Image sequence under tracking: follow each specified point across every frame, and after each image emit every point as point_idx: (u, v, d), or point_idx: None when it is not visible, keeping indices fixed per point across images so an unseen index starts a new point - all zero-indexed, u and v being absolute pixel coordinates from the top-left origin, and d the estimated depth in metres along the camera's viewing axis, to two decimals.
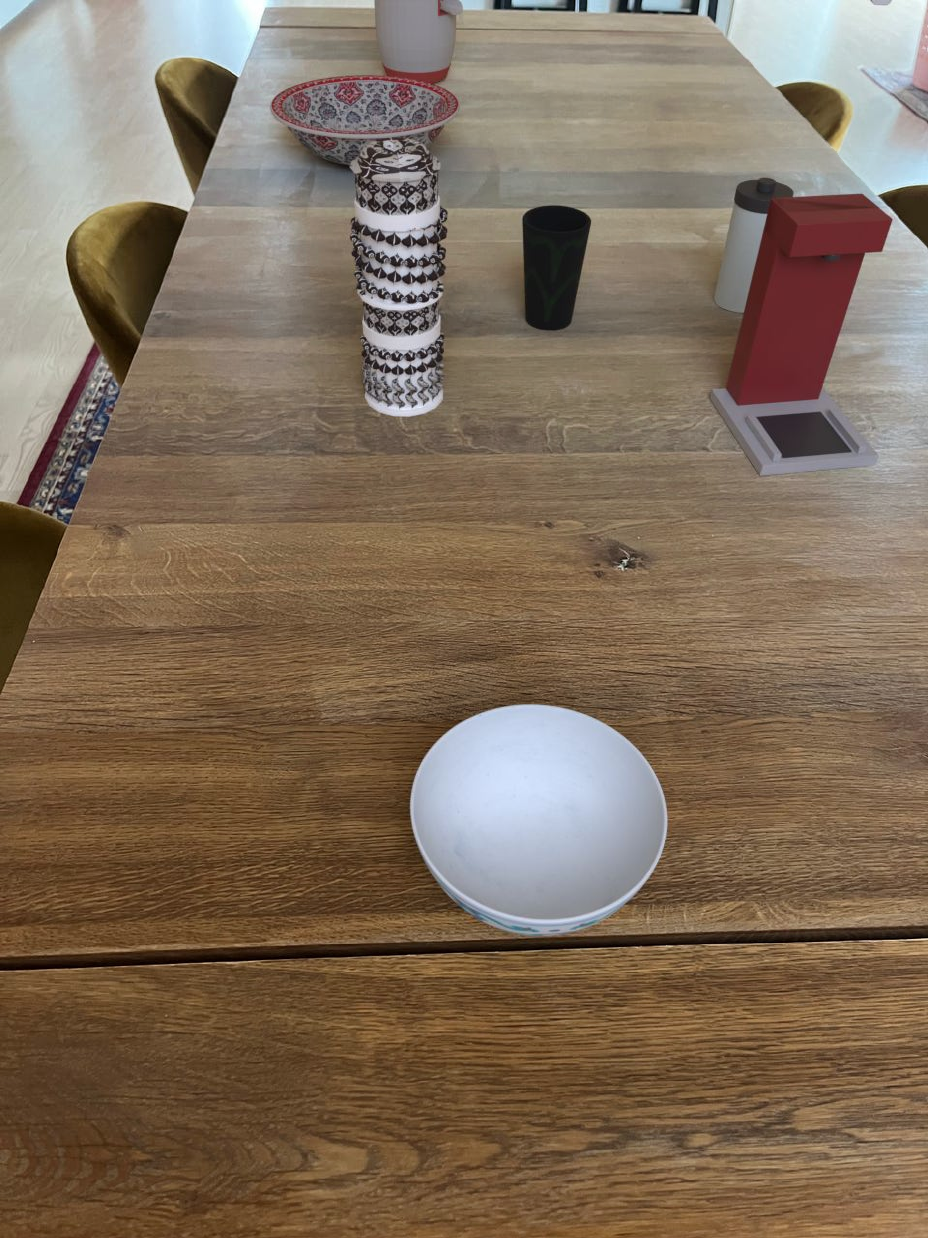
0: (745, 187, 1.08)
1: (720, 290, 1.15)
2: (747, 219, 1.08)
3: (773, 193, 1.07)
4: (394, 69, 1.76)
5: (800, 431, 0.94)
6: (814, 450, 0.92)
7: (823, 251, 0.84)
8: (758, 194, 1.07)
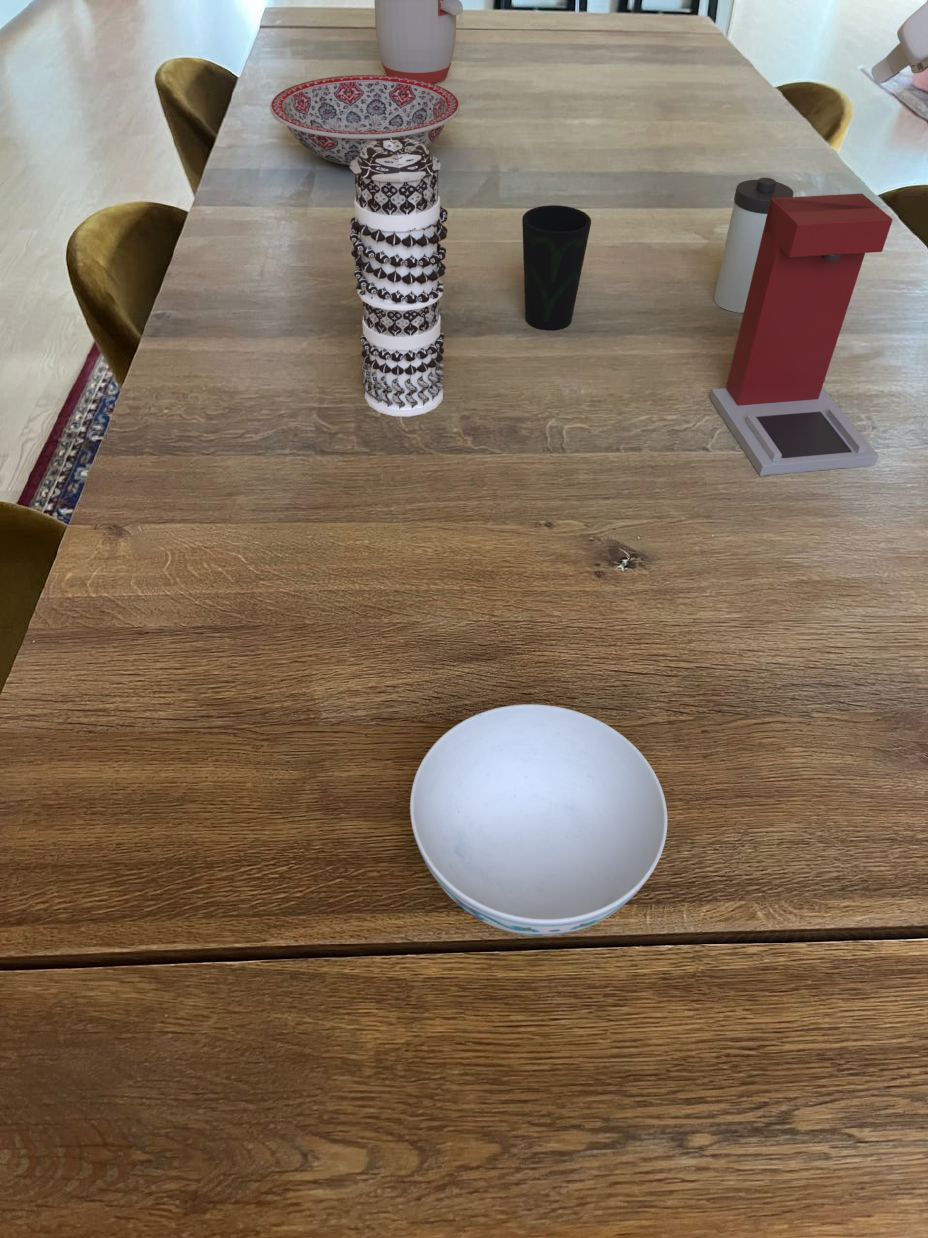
0: (745, 187, 1.08)
1: (720, 290, 1.15)
2: (747, 219, 1.08)
3: (773, 193, 1.07)
4: (394, 69, 1.76)
5: (800, 431, 0.94)
6: (814, 450, 0.92)
7: (823, 251, 0.84)
8: (758, 194, 1.07)
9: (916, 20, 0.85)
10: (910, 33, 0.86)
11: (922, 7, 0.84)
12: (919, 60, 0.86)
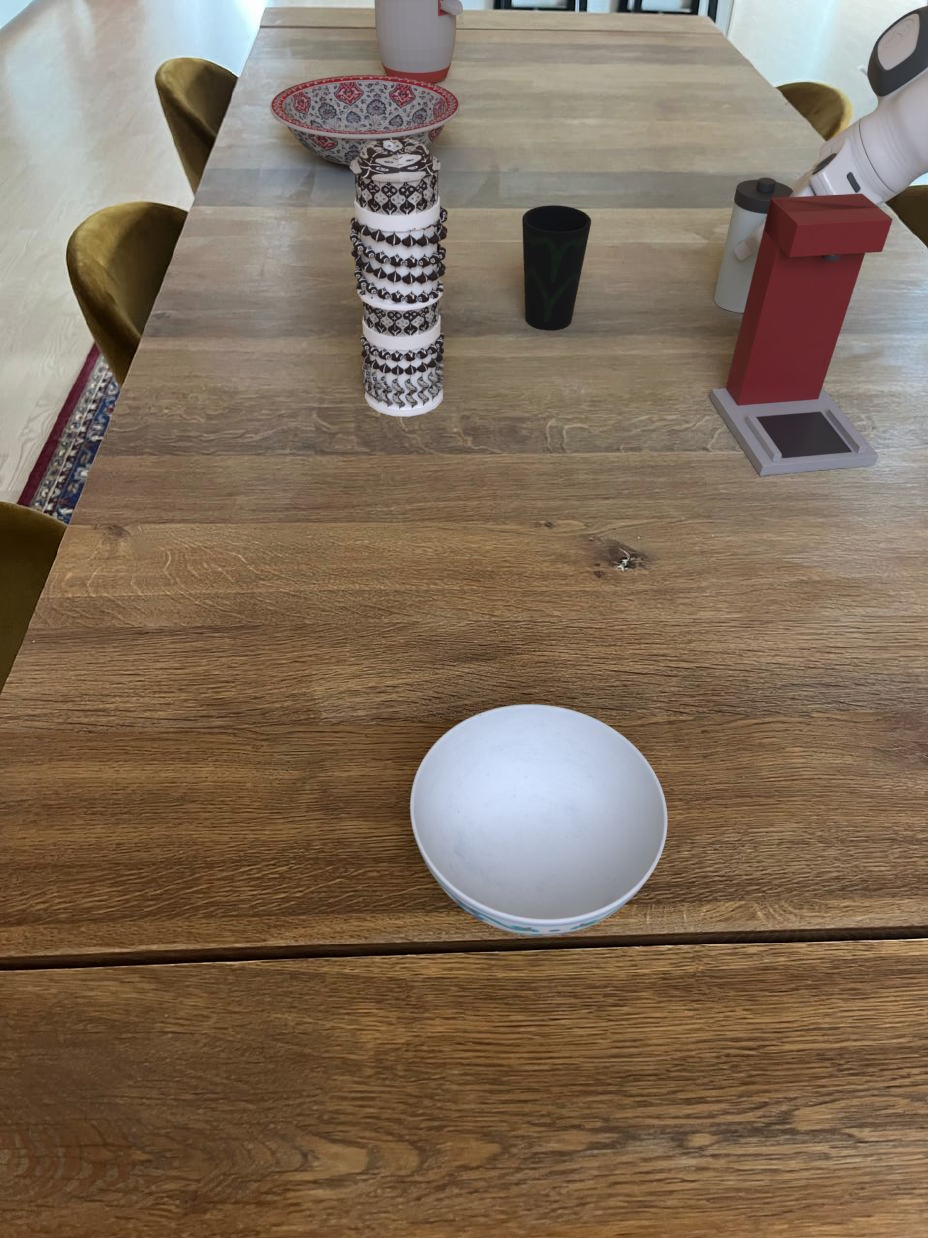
0: (745, 187, 1.08)
1: (720, 290, 1.15)
2: (747, 219, 1.08)
3: (773, 193, 1.07)
4: (394, 69, 1.76)
5: (800, 431, 0.94)
6: (814, 450, 0.92)
7: (823, 251, 0.84)
8: (758, 194, 1.07)
9: None
10: None
11: None
12: None
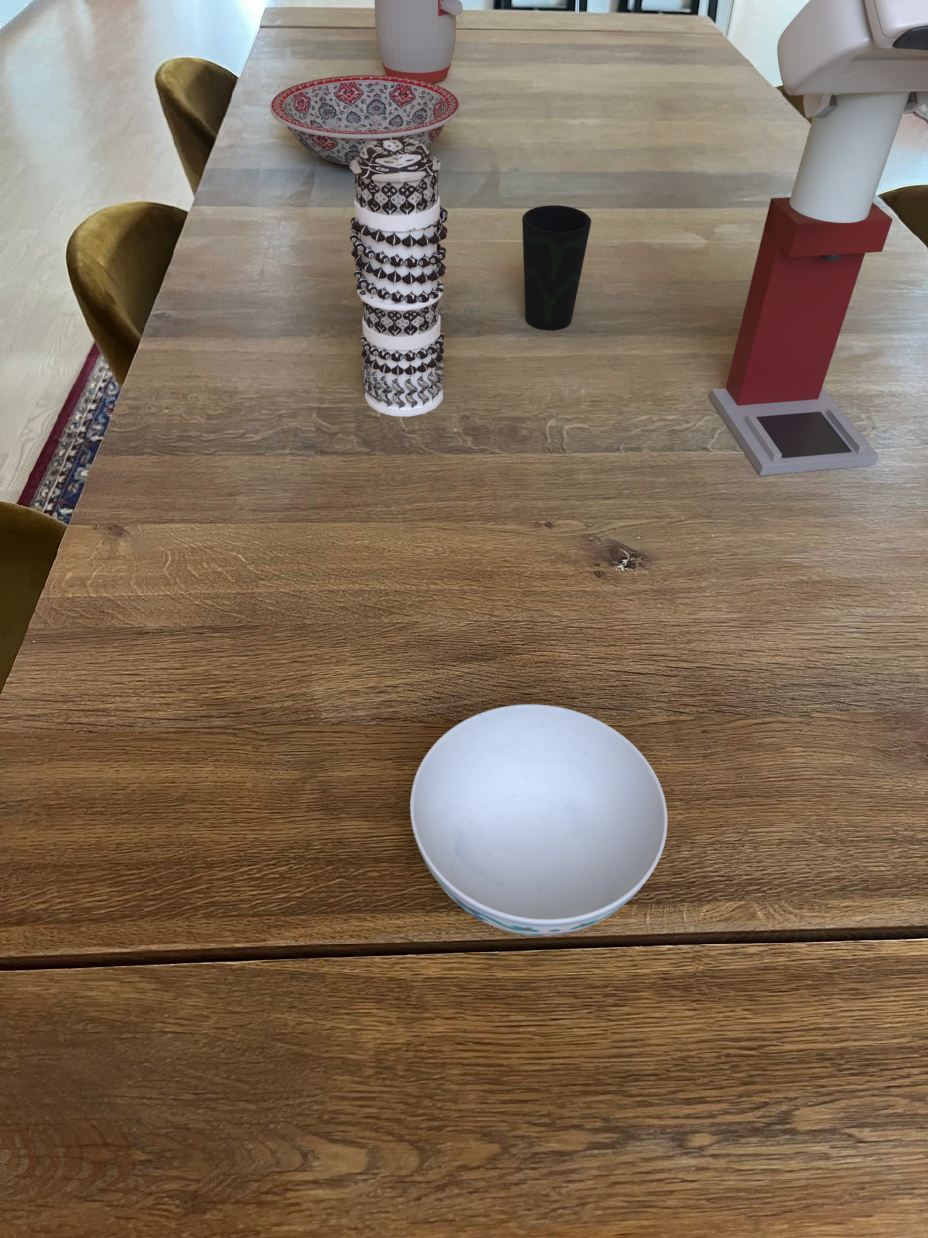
0: None
1: (796, 176, 0.75)
2: None
3: None
4: (394, 69, 1.76)
5: (800, 431, 0.94)
6: (814, 450, 0.92)
7: (823, 251, 0.84)
8: None
9: (788, 34, 0.62)
10: (782, 52, 0.63)
11: (795, 17, 0.61)
12: (790, 90, 0.63)
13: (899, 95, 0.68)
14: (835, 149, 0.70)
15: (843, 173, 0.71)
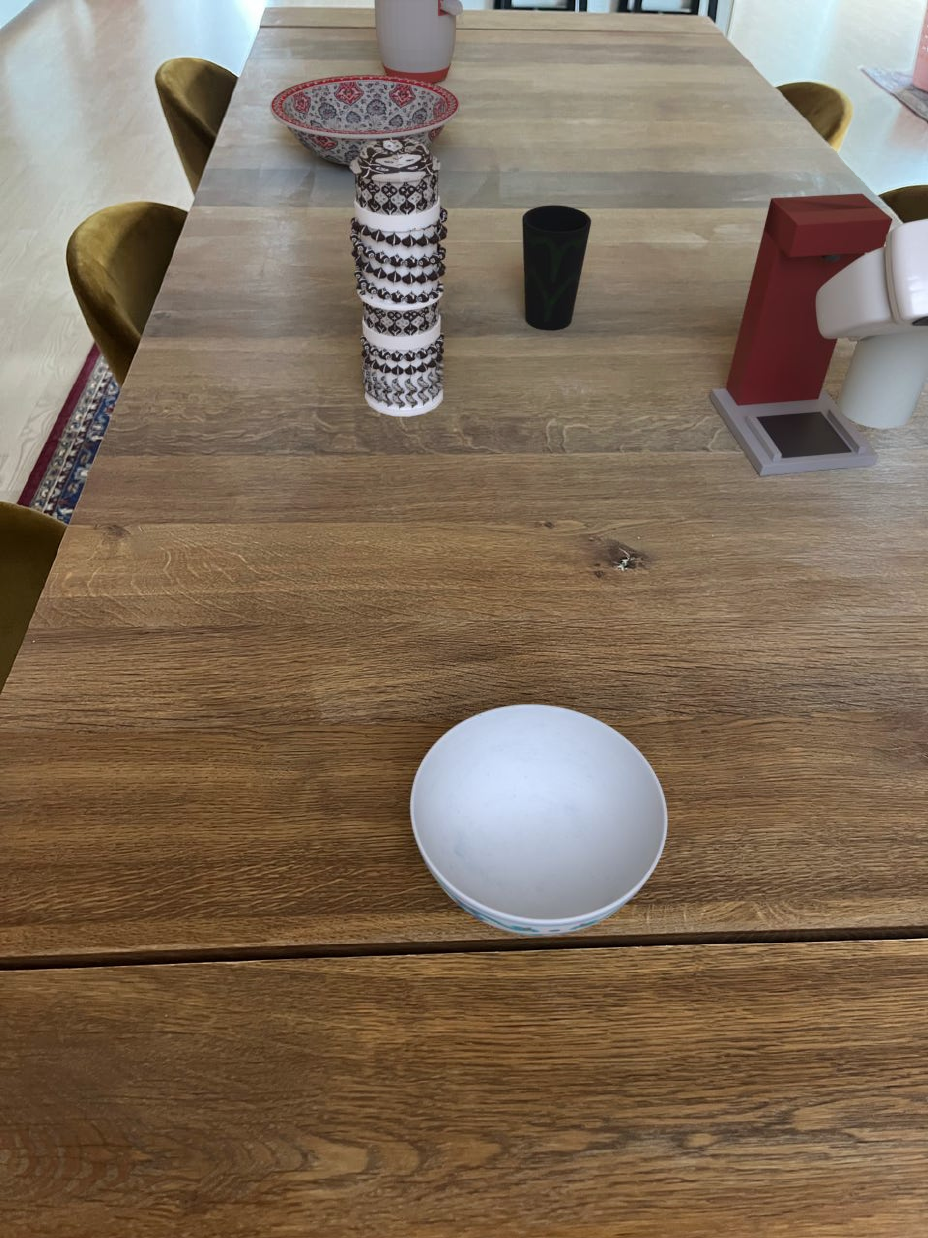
0: None
1: None
2: None
3: None
4: (394, 69, 1.76)
5: (800, 431, 0.94)
6: (814, 450, 0.92)
7: (823, 251, 0.84)
8: None
9: (824, 291, 0.69)
10: (819, 304, 0.70)
11: (830, 279, 0.68)
12: (825, 337, 0.70)
13: None
14: (876, 370, 0.77)
15: (883, 389, 0.77)
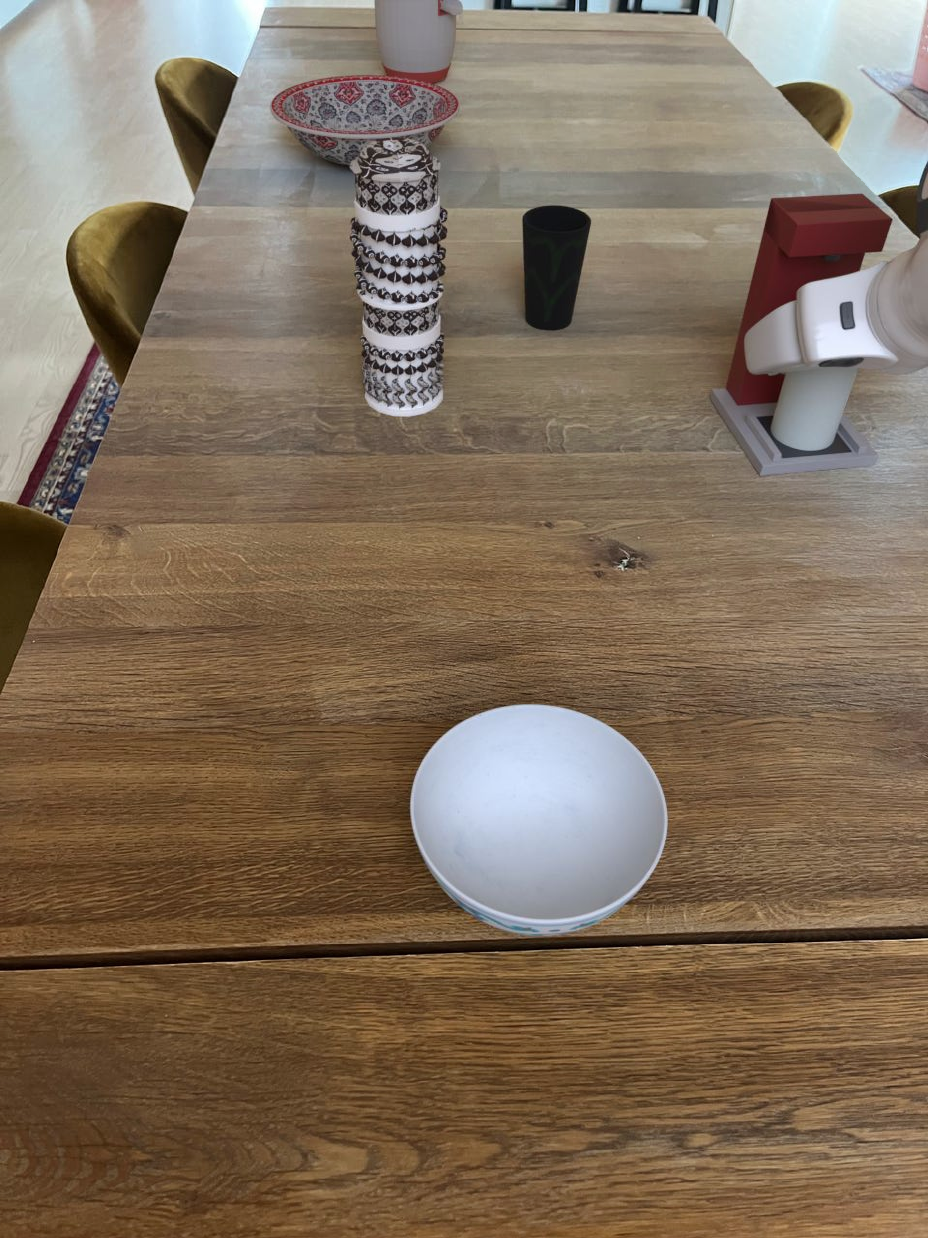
0: None
1: None
2: None
3: None
4: (394, 69, 1.76)
5: None
6: None
7: (823, 251, 0.84)
8: None
9: (750, 335, 0.81)
10: (746, 346, 0.82)
11: (755, 325, 0.81)
12: (752, 373, 0.82)
13: (849, 367, 0.86)
14: (800, 400, 0.89)
15: (806, 417, 0.90)
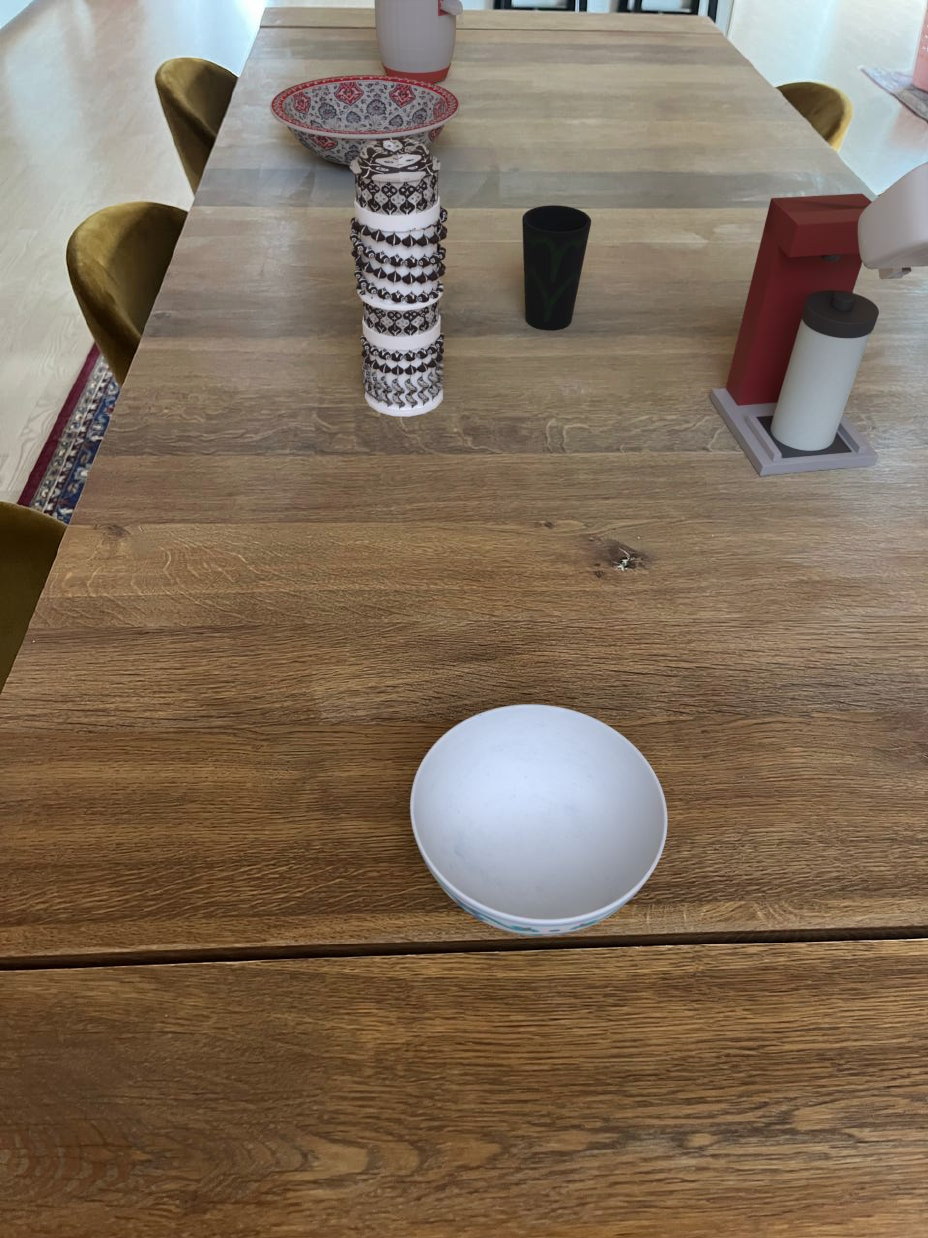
0: (826, 295, 0.86)
1: None
2: (800, 330, 0.86)
3: (841, 312, 0.84)
4: (394, 69, 1.76)
5: None
6: None
7: (823, 251, 0.84)
8: (822, 306, 0.85)
9: (868, 214, 0.63)
10: (861, 230, 0.63)
11: (875, 199, 0.62)
12: (867, 266, 0.64)
13: (849, 367, 0.86)
14: (800, 400, 0.89)
15: (806, 417, 0.90)
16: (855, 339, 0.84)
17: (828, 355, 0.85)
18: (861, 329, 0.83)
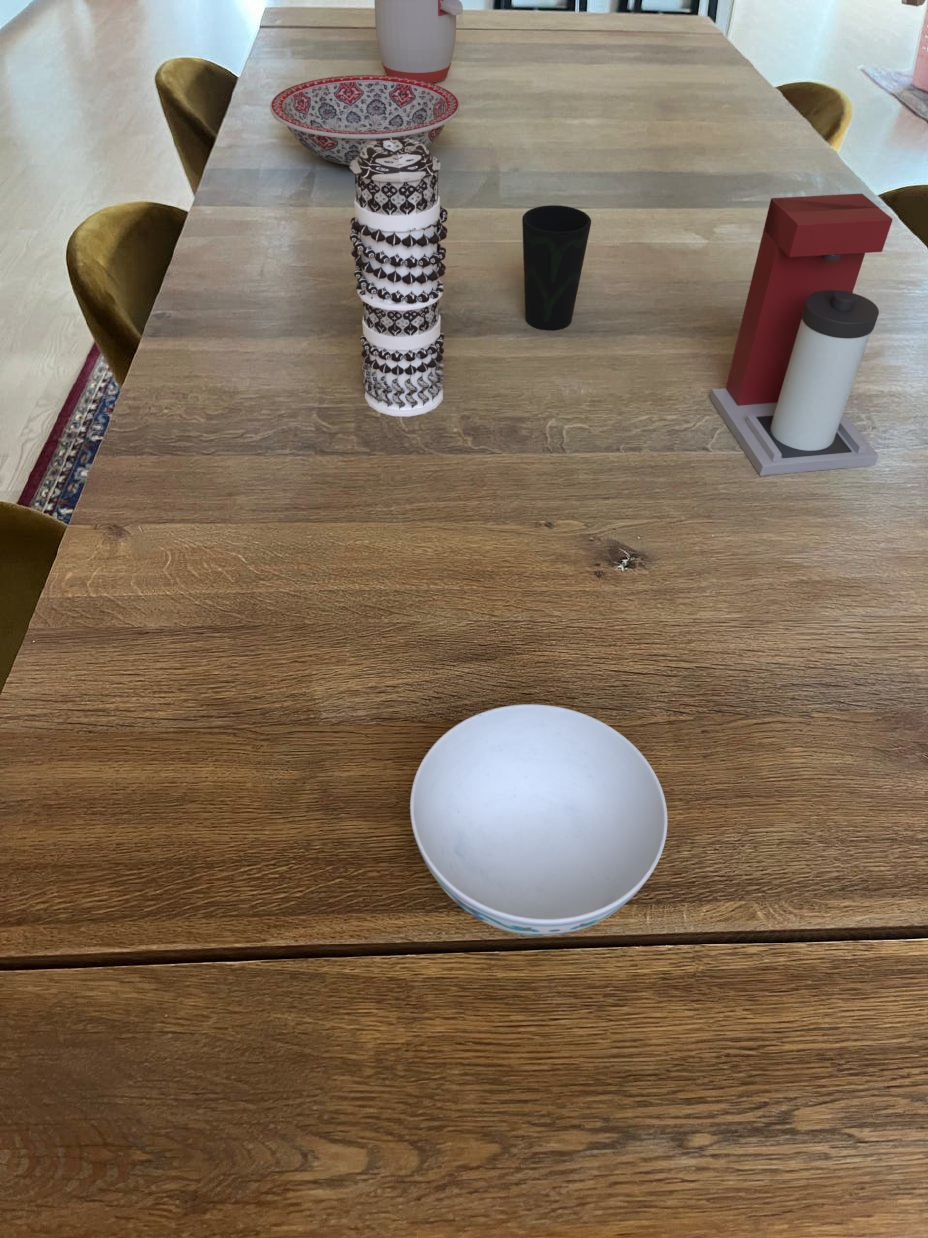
0: (826, 295, 0.86)
1: None
2: (800, 330, 0.86)
3: (841, 312, 0.84)
4: (394, 69, 1.76)
5: None
6: None
7: (823, 251, 0.84)
8: (822, 306, 0.85)
9: None
10: None
11: None
12: None
13: (849, 367, 0.86)
14: (800, 400, 0.89)
15: (806, 417, 0.90)
16: (855, 339, 0.84)
17: (828, 355, 0.85)
18: (861, 329, 0.83)
